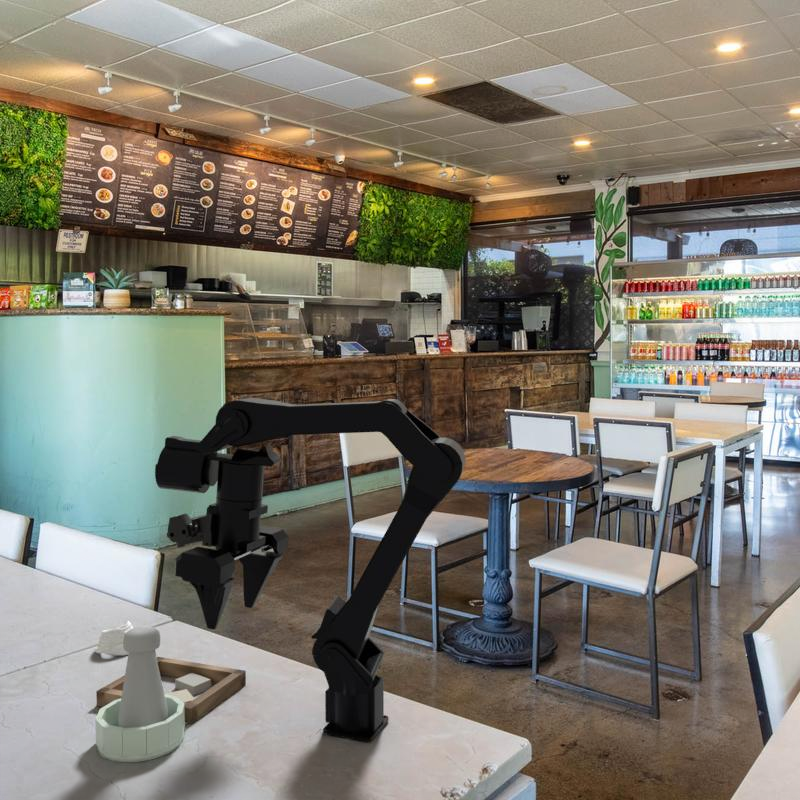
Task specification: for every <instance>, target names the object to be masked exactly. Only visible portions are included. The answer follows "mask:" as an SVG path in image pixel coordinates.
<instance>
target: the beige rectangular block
mask: <svg viewBox="0 0 800 800" xmlns="http://www.w3.org/2000/svg"><path fill="white" fill-rule="evenodd" d="M164 694H167V695H172V696H176V697H177V698H178V699H180V700H181V701H182V702H186V703H189V702H191V701H192V700H194V699H195V697H194V695H191V694H190V693H189V691H188V690H187V689H184V690H175V691H170V692H167V693H166V692H164Z"/></svg>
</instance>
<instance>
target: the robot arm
mask: <svg viewBox="0 0 800 800" xmlns="http://www.w3.org/2000/svg"><path fill="white" fill-rule="evenodd" d="M357 433H361V434H362V433H381V434H383V436H384V437H386V438H387V440H388V441H389V442H390V443H391V444H392V445H393V446H394V448H395V449H396V450H397V451H398V452H399V453H400V454H401V456H402V457H403V458H404V459H405V460H406V461H408V462H409V463H410V464H411V465H412V467H411V471H410V474H409V477H408V480H407V483H406V487H405V490H404V493H403V498H402V500H401V503H400V506H399V508H398V509H397V511H396V512H395V515H394V516H393V518H392V520H391V522H390V524H389V525H388V527H387V529H386V531H385V533H384V535H383V536H382V538H381V541H380V542H379V544H378V546H377V548H376V549H375V551H374V553H373V555H372V557H371V558H370V560H369V562H368V564H367V565H366V568H365V570H364V571H363V573H362V575H361V576H360V579H359V580H358V582H357V584H356V586H355V588H354V589H353V592H352V593H351V594H350V596H349V597H348V598H347V599H346V600H344V598H342V597H341V596H339V595H336V597H335V598H334V599H333V601H332V602H331V603H330V604H329V606H328V607H327V609H326V610H325V612H324V615H323V617H322V621H321V622H320V624H319V625H318V627H316V630H315V631H314V632H313V633H312V634H311V639H313V640H315V641H314V642H313V644H312V645H313V646H312V648H311V655H312V657H313V660H314V663H315V665H316V666H317V667H318V669H319V670H320V671H322V672H323V673H324V677H325V679H326V683H327V685H328V688H327V689H326V690H325V692H324V693H325V694H324V695H325V696H324V697H325V701H324V704H325V707H324V709H325V712H324V713H325V719H324V720H325V722H326V723H327V724H326V725H325V726H324V727H323V728H322V733H323V735H324V734H325V735H330V736H334V737H335V736H336V737H339V738H346V739H352V740H355V741H356V740H357V741H363V742H367V743H368V742H371V741H373V740H374V738H375V737H376V736H377V735H378V733H380V732H381V730H382V729H383V728H384V727H385V725H386V724H387V723H388V722H389V716H388V715H385V714H384V711H385V710H384V705H385V703H384V694H385V693H384V688H385V687H384V685H385V684H384V682H385V681H384V677H381V676H378V674H377V672H378V670H379V669H380V668H381V665H382V663H383V660H384V657H385V652H384V650H382V649H381V648H380V647H379V645H377V643H375V642H374V641H373V640H372V638H370V635H371V631H372V628H373V625H374V622H375V620H376V619H375V618H376V615H377V612H378V608H379V605H380V604H381V601H382V599H383V598H384V596H385V594H386V592H387V591H388V589H389V587H390V585H391V584H392V581H393V580H394V578H395V576H396V574H397V573H398V570H399V569H400V567H401V566H402V564H403V562H404V560H405V558H406V556H407V555H408V552H409V551H410V549H411V548H412V546H413V544H414V542H415V540H416V538H417V537H418V535H419V533H420V532H421V529H422V527H423V526H424V524H425V522H426V521H427V519H428V517H429V516H430V515H431V514H432V513H433V512H434V510H435V509H436V508H437V507H438V506H439V505H440V504H441V502H442V501H443V500H444V499H445V498H446V497H447V495H448V494H449V493H450V492H451V490H452V489H453V488H454V487H455V485H456V484H457V483H458V481H459V480H460V478H461V476H462V474H463V472H464V470H465V467H466V465H467V464H466V463H467V461H466V460H467V458H466V454H465V451H464V449H463V448H462V446H461V444H459V443H458V442H457V441H455V440H454V439H451V438H449V437H441V436H440V435H439V434H438V433H437V432H436V431H435V430H434V429H432V428H431V427H430V426H429V425H428V424H427V423H425V422H424V421H423V420H421V418H419V417H417V416H416V415H415V414H413V413H412V412H411V411H410V410H409V409H408V408H407V407H406V405H404V403H403V402H402V401H401V400H398V399H394V398H388V399H385V400H379V401H378V400H377V401H356V402H355V401H354V402H352V401H351V402H333V403H332V402H331V403H309V404H308V403H305V404H304V403H303V404H295V403H287V402H283V401H278V400H272V399H267V398H266V399H265V398H258V397H245V398H240V399H234V400H230V401H227V402H226V403H223V405H222V406H221V407H220V409H219V410H218V412H217V414H216V416H215V424H214V425H213V427H211V429H210V430H209V431H208V432H207V434H206V435H205V436H204V437H202V440H199V439H192V438H185V437H182V436H178V435H177V436H176V435H175V436H174V435H172V436H168V437H166V438H165V439H164V447H163V448H162V450H161V451H160V453H159V456H158V460H157V463H156V464H155V467H154V468H155V469H154V477H155V482H156V485H157V486H158V488H160V489H163V490H172V491H179V492H180V491H182V492H190V493H197V494H205V493H207V492H208V490H209V488H210V487H214V486H215V485H216V497H215V503H212V504H211V503H210V504H209V505H208V506H207V508H206V512H205V513H206V514H202V515H198V516H193V517H190V516H189V514H188V513H182V514H179V515H175V516H171V517H169V518H168V519H169V520H168V525H167V533H166V536H167V539H169V540H170V542H172V543H175V545H176V548H177V549H179V548H184V547H185V546H186V545H190V544H193V543H200V542H202V543H201V546H196V547H194V548H190V549H188V550H185V551H182V552H181V553H180V554H178V556H177V557H176V558H175V559H174V570H173V575H174V576H175V577H179V578H180V579H181V580H182V581H184V582H187V583H189V584H191V586H192V587H193V588H194V590H195V591H196V594H197V596H198V600H199V603H200V606H201V610H202V614H203V617H204V622H205V626H206V628H207V629H210V630H216V629H217V628H218V625H219V623H220V621H221V618H222V615H223V613H224V610H225V607H226V604H227V601H228V599H229V596H230V594H231V592H232V591H231V590H232V588H233V585H234V583H235V581H236V580H235V578H234V577H232V576H233V574H234V573H235V571H236V561H237V560H239V562H240V563H241V565H242V579H243V581H242V584H243V587H242V589H243V602H244V607H245V608H247V609H248V608H249V609H252V608H253V607H254V606H255V604H256V603H257V601H258V599H259V596H260V595H261V593H262V591H263V590H264V587H265V586H266V584H267V583H268V581H269V578H270V577H271V575H272V573H273V572H274V570H275V568H276V566H277V565H278V563H279V561H280V560H281V559H282V558H283V553H285V552H286V551H288V547H289V536H288V534H287V533H286V531H285V530H284V529H283V528H277V527H271V526H265V525H261V518H262V515H266V514H268V508H269V504H263V493H264V492H263V490H264V489H263V488H264V475H265V467H269V468H270V467H275V466H276V465H278V464H280V463H281V462H282V458H281V457H280V456H279V455H278V454H277V453H276V452H275V451H274V450H273V448H272V446H271V445H270V444H267V445H263V446H262V447H260V449H259V450H258V449H249V448H241V447H244V446H248V445H254V444H259V443H263V442H267V441H271V440H276V439H280V438H284V437H289V436H297V435H300V436H301V435H302V436H303V435H324V434H325V435H327V434H329V435H330V434H357ZM231 447H237V449H235V451H234V453H231V454H230V453H222V452H219V451H221V450H225V449H228V448H231ZM239 447H240V448H239ZM203 546H204V547H203ZM208 547H209V548H208ZM212 547H214V548H215V549H213V548H212Z"/></svg>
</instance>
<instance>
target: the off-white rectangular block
mask: <svg viewBox="0 0 800 800" xmlns="http://www.w3.org/2000/svg"><path fill="white" fill-rule="evenodd" d="M174 680H175V681H174V683H175V684H174V685H175V689H177V690H178V691H180V690H184V689H187V690H188V691H189V693H190V694H191V695H192V696H196V695H199V694H202V693H204V692H206V691H207V690H208V689H210V688H211V687H212V683H211V679H208V678H205V677H203V676H200V675H197V674H195V673H190V674H188V675H185V676H183V677H180V678H179V677H177V678H175V679H174Z"/></svg>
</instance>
